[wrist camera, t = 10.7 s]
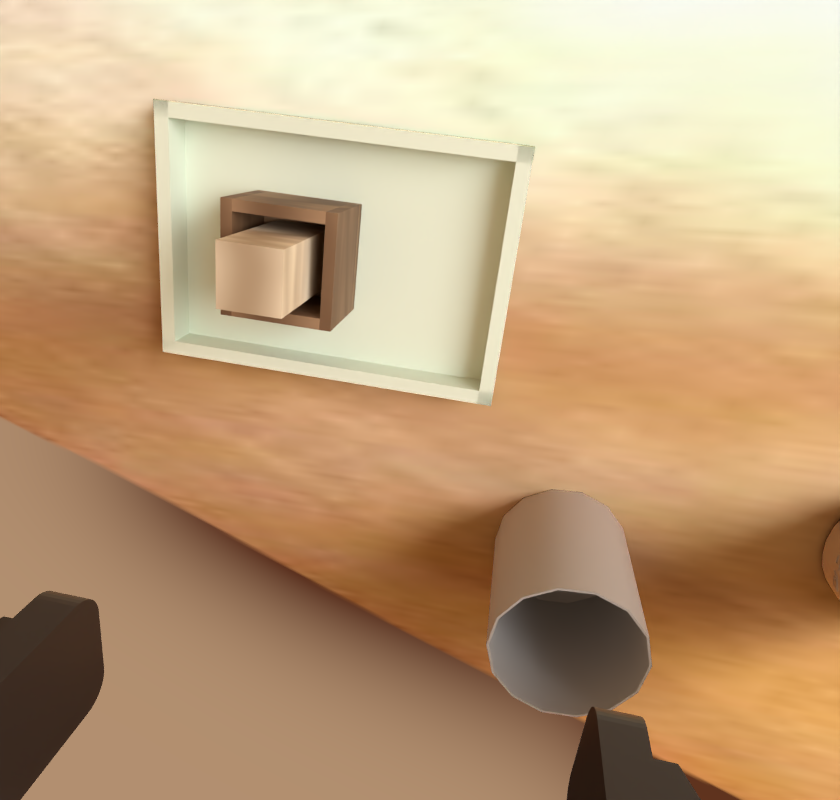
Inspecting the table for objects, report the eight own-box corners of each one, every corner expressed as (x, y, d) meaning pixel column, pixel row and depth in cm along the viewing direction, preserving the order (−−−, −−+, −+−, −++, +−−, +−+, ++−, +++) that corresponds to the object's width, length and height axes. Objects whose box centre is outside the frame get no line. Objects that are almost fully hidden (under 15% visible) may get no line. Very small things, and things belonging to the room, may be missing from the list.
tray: (534, 146, 35) (535, 147, 32) (493, 391, 40) (490, 405, 38) (175, 101, 37) (153, 99, 34) (182, 340, 42) (162, 351, 40)
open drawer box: (361, 204, 36) (338, 213, 32) (353, 308, 39) (330, 331, 34) (258, 189, 37) (220, 197, 32) (256, 293, 39) (220, 314, 35)
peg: (332, 227, 37) (283, 249, 29) (329, 283, 38) (281, 318, 30) (277, 219, 37) (215, 239, 30) (276, 276, 38) (215, 308, 31)
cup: (473, 559, 45) (458, 668, 36) (536, 467, 41) (538, 561, 32) (580, 616, 45) (593, 739, 36) (652, 530, 42) (686, 640, 33)
